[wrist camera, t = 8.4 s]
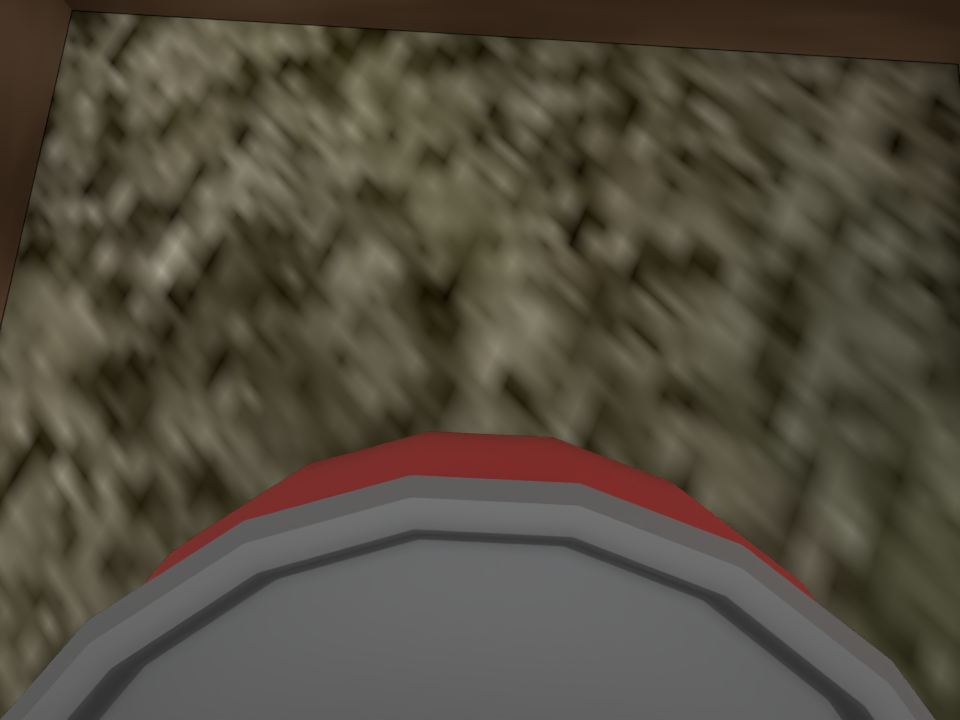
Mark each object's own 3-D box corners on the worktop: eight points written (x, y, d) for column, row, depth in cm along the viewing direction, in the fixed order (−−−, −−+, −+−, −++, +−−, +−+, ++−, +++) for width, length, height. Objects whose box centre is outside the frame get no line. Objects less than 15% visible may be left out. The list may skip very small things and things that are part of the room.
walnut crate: (1040, 486, 17) (1532, 460, 9) (-61, 413, 17) (-513, 327, 9) (990, 28, 20) (1329, -294, 12) (44, -29, 20) (-234, -381, 12)
